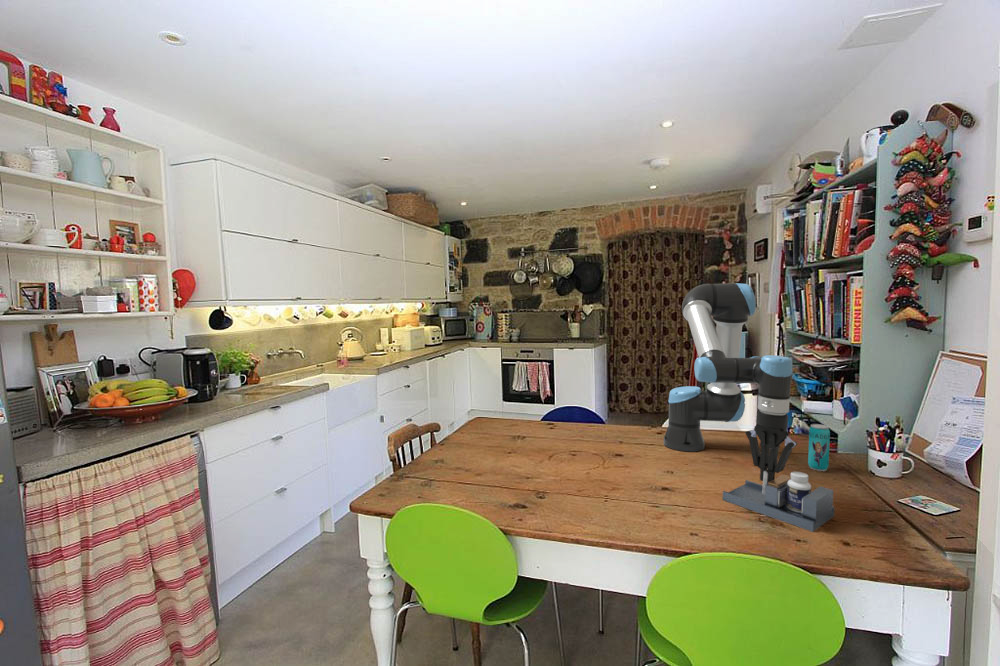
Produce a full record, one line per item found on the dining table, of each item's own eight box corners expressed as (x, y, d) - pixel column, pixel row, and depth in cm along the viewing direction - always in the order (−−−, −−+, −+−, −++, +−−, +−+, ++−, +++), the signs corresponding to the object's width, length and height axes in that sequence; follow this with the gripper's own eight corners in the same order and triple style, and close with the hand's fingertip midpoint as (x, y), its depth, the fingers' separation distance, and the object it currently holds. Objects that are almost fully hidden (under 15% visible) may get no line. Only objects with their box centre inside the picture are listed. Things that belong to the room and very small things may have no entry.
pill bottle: (785, 510, 123) (786, 474, 122) (787, 503, 127) (788, 468, 126) (809, 515, 119) (810, 479, 119) (811, 508, 123) (812, 473, 123)
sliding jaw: (764, 506, 125) (765, 482, 124) (782, 495, 131) (783, 473, 131) (778, 510, 122) (778, 486, 121) (795, 499, 128) (796, 477, 128)
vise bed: (722, 500, 133) (723, 474, 132) (746, 488, 141) (747, 464, 140) (812, 531, 114) (814, 502, 114) (834, 515, 122) (835, 488, 122)
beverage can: (809, 470, 154) (810, 427, 153) (806, 465, 160) (808, 422, 158) (829, 473, 152) (831, 429, 151) (826, 467, 157) (828, 424, 156)
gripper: (742, 408, 130) (737, 488, 132) (791, 419, 120) (784, 505, 122) (755, 404, 134) (749, 482, 137) (803, 415, 124) (796, 498, 126)
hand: (766, 493), depth 129 cm, fingers closed
